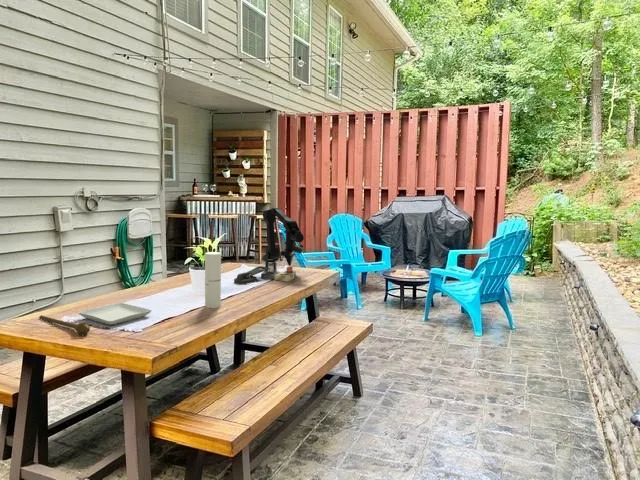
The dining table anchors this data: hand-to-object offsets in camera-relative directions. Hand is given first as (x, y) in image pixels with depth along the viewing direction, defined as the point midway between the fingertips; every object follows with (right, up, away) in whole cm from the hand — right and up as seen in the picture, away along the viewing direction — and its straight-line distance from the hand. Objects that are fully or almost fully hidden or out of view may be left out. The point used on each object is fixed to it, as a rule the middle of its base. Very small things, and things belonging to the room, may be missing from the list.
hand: (289, 265), depth 305 cm
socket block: (-7, -7, -3) cm, 10 cm away
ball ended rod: (-82, -19, -114) cm, 142 cm away
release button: (0, -5, 0) cm, 4 cm away
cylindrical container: (-31, -15, -77) cm, 85 cm away
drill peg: (-11, -7, -5) cm, 14 cm away
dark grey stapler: (-22, -8, -16) cm, 28 cm away
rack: (-3, -8, -11) cm, 14 cm away
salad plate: (-67, -17, -100) cm, 122 cm away
